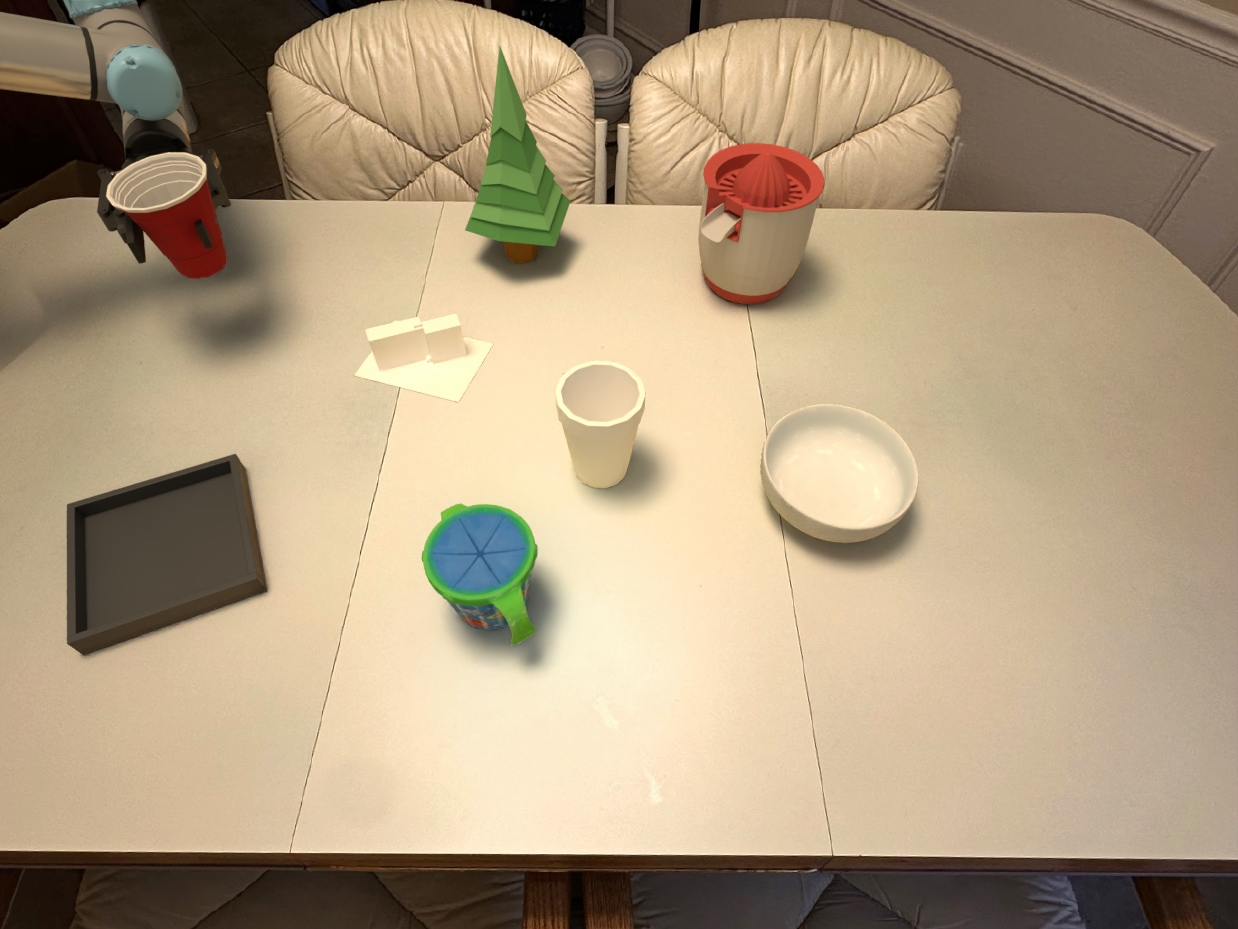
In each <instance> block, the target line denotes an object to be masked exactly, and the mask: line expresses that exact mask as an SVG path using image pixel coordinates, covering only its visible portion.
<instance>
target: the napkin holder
mask: <svg viewBox="0 0 1238 929" xmlns="http://www.w3.org/2000/svg"><path fill="white" fill-rule="evenodd" d="M365 333H366V336H367V340H368V343H369V347H370V349H371V352H370V353H369V354H368V356H367V357H366V358H365V360H364V361H363V362H362V364H361V365H360V367H359V368H358V369H357V371H356V372H355V374H354V377H358V378H362V379H366V380H368V381H374V382H378V383H382V384H385V385H390V386H393V387H397V388H402V389H405V390H409V391H413V392H417V393H422V394H425V395H429V396H432V397H437V398H441V399H445V400H449V401H453V402H456V403H460V401H461V399H462V397H463V396H464V394H465V392H466V391H467V389H468V387H469V386H470V384H471V382H472V381H473V379H474V377H476V374H477V372H478V371H479V369H480V367H481V366H482V364H483V362H484V361H485V359H486V358H487V355H488V354H489V352H490V351H491V349H492V347H493V345H494V343H492V342H488V341H485V340H484V341H483V340H479V339H475V338H471V337H467V336H464V334H463V329H462V325H461V321H460V319H459V317H458V315H457V313H452V314H448V315H444V316H440V317H436V318H432V319H427V320H424V321H422V320H421V317H420V316H415V317H411V318H406V319H401V320H393V322H391V323H390V322H389V323H386V324H382V325H378V326H374V327H369V328H366V329H365Z"/></svg>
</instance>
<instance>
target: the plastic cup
mask: <svg viewBox="0 0 1238 929" xmlns="http://www.w3.org/2000/svg"><path fill="white" fill-rule="evenodd" d="M198 156H199V155H195V154H194V155H192V154H189V153H175V152H168V153H164V154H159V155H154V156H150V157H147V158H145V159H142V160H140V161H138V162H135V163H133V164H131V165H129V166H128V167H127V168H125V169H124V170H122V169H121V170H122V171H121V172H119V173H118V174H117V175H116V176H115V177H114V178H113V180H112V181H111V182H110V183H109V185H108V188H107V194H106V197H107V198H108V200H109V201H110V202H111V204H112V205H113V206H114V207H115V208H118V209H120V210H122V211H124V212H125V213H126V214H127V215H128V216H130V217H131V219H132V220H133V221H134V222H136V223H137V224H138V225H139V226H140V228H141V229H142V230H143V232H144V235H146V236H147V237H148V239H149V240H150V241H151V242H152V243H153V244H154V245H155V247H156V248H157V249H158V251H159V252H160V253H161V254H162V255H163V256H164V257H166V258H167V260H168V261H169V263H171V265H172V266H173V267H174V269H175V270H176V271H177V272H178V273H180V274H181V276H183V277H185V278H187V279H194V280H198V279H205V278H209V277H212V276H215V275H216V274H218V273H220V271H222V270H223V269H224V268H225V266H226V265H227V263H228V256H227V250H226V246H225V243H224V238H223V232H222V228H221V225H220V222H219V219H218V215H217V210H216V211H215V208H214V204H213V201H212V197H211V191H212V190H211V189H210V188H211V187H210V184H209V179H208V176H207V167H206V164H205V163H204V162H203V161H202V160H201V159H200V157H198ZM215 217H216V218H217V223H216V225H215V223H214V220H216V219H215ZM200 219H202V221H203V223H204V225H205V227H206V229H207V230H208V232H209V234H210V236H211V241H212V246H213V247H212V248H207V249H206V248H205V246H204V244H203V242H202V240H201V238H200V237H199V235H198V233H197V231H196V229H195V223H196V222H197V221H199V220H200Z"/></svg>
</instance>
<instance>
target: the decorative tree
mask: <svg viewBox="0 0 1238 929" xmlns="http://www.w3.org/2000/svg"><path fill="white" fill-rule="evenodd" d="M492 104H493V105H492V115H491V124H490V134H489V138H490V141H489V146H488V151H487V152H488V153H487V156H486V157H487V158H486V161H485V169H484V172H483V176H482V179H481V183H480V187H479V190H478V192H477V195H476V199H475V202H474V204H473V205H474V206H473V208H472V210H471V213H470V216H469V219H468V220H467V224H466V226H465V229H464V231H465V232H468V233H469V232H470V233H472V234H475V235H478V236H481V237H483V238H484V237H485V238H488V239H491V240H493V241H496V242H503V245H504V246H503V247H504V252H505V253H504V254H505V257H506V258H507V259H509V260H510V261H512V262H513V263H515V264H516V265H521V264H524V263H525V264H527V263H531V262H532V263H533V262H534V260H535V259H536V256H537V254H538V253H539V246H545V247H556V245H557V242H558V239H559V236H560V234H561V230H562V227H563V225H564V222H565V218H566V215H567V213H568V211H569V207H570V205H571V200H570V198H568V197H567V196H566V195H565V194H564V193H563V190H564V189H563V187H561V185H560V184H559V183H558V182H557V181H556V180H554V179H555V177H556V176H555V174H554V173H553V172H552V171H551V169H550V167H548V165H547V164H546V162H547V159H546V158H545V156H544V154H542V152H541V151H540V149H539V147H538V146H537V143H538V141H537V139H536V137H535V136H534V133H533V132H532V129H531V127H530V125H529V124H528V122H527V116H528V115H527V112H526V110H525V107H524V104H523V102H522V99H521V96H520V94H519V91H518V88H517V86H516V83H515V81H514V78H513V75H512V73H511V71H510V68H509V65H508V63H507V61H506V59H505V56H504V52H503V49H502V47H501V45H499V47H498V56H497V66H496V77H495V86H494V96H493V103H492Z"/></svg>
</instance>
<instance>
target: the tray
mask: <svg viewBox="0 0 1238 929" xmlns="http://www.w3.org/2000/svg"><path fill="white" fill-rule="evenodd" d="M247 477H248V476H247V471H246V467H245V465H244V464H243V462H242V460H241V459H240V458H239V457H238V455H237V453H233V454H229V455H226V456H223V457H219V458H217V459H213V460H210V461H206V462H203V463H200V464H195V465H193V466H190V467H185V468H183V469H180V470H176V471H173V472H170V473H166V474H163V475H160V476H155V477H153V478H149V479H146V480H142V481H139V482H135V483H133V484H130V485H127V486H126V485H125V486H123V487H120V488H116V489H113V490H110V491H109V490H108V491H106V492H103V493H100V494H96V495H93V496H89V497H86V498H83V499H80V500H76V501H73V502H70V503H67V504H66V644H67V646H69V647H71V648H73V649H74V650H75V651H76V652H78V653H79V654H81V656H85V655H89V654H91V653H93V652H96V651H97V652H98V651H99V650H102V649H105V648H108V647H111V646H114V645H117V644H120V643H123V642H125V641H128V640H131V639H134V638H136V637H137V638H138V637H140V636H143V635H145V634H148V633H151V632H154V631H157V630H160V629H162V628H165V627H167V626H172V625H174V624H176V623H179V622H183V621H185V620H189V619H191V618H194V617H198V616H200V615H203V614H205V613H208V612H211V611H214V610H216V609H219V608H222V607H225V606H228V605H231V604H234V603H236V602H240V601H243V600H245V599H249V598H252V597H255V596H257V595H260V594H263V593H265V592H268V587H267V581H266V576H265V570H264V564H263V560H262V553H261V548H260V542H259V538H258V532H257V526H256V521H255V515H254V514H255V513H254V508H253V504H252V498H251V493H250V487H249V481H248V478H247Z"/></svg>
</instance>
